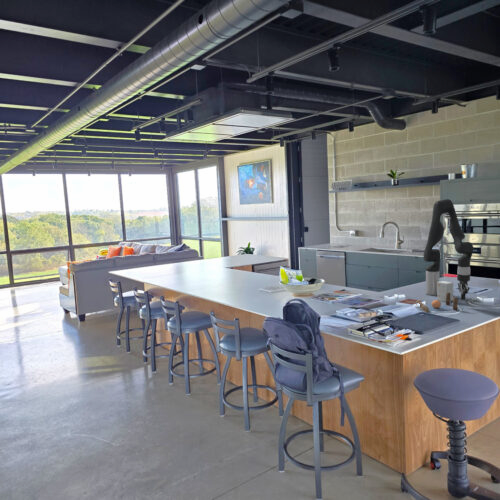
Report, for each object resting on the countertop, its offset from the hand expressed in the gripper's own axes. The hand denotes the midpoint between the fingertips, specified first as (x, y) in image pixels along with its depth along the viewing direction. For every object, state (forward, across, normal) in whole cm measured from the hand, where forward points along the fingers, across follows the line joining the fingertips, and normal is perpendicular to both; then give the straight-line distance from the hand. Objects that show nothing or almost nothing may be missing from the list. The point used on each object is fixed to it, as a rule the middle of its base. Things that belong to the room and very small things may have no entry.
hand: (463, 299), depth 279 cm
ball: (+2, +2, -18) cm, 18 cm away
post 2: (+5, +7, -8) cm, 11 cm away
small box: (+6, -17, -5) cm, 19 cm away
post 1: (+5, -6, -7) cm, 11 cm away
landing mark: (+5, 0, -16) cm, 17 cm away
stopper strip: (+5, 0, -26) cm, 26 cm away
